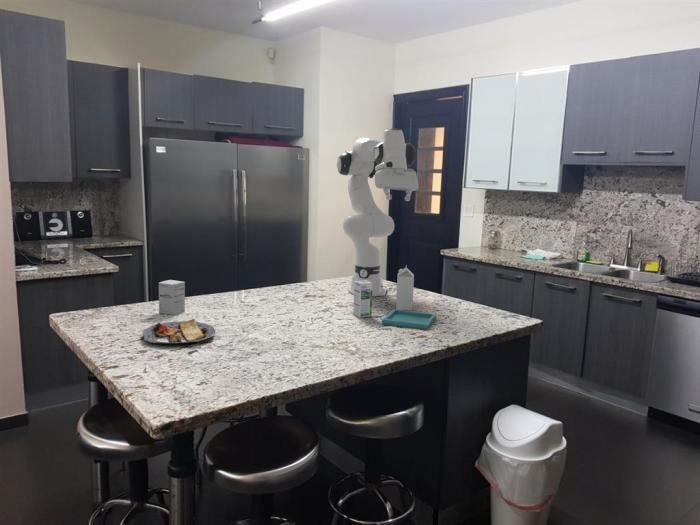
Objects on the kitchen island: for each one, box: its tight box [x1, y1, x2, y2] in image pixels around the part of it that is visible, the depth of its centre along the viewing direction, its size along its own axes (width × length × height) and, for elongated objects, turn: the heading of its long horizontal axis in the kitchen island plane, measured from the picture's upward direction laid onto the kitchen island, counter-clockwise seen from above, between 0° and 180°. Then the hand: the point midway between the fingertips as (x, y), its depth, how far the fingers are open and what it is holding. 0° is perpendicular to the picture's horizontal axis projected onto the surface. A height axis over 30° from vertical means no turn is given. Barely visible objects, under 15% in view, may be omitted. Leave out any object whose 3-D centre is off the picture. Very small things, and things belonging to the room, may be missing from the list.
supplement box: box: [158, 279, 186, 316], centre depth 214 cm, size 7×7×13 cm
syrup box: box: [352, 280, 373, 319], centre depth 220 cm, size 6×6×14 cm
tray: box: [381, 308, 437, 331], centre depth 214 cm, size 18×18×2 cm
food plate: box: [142, 318, 216, 345], centre depth 185 cm, size 25×23×4 cm
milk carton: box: [395, 265, 415, 311], centre depth 234 cm, size 7×7×19 cm
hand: (398, 200), depth 218 cm, fingers open, 8 cm apart
